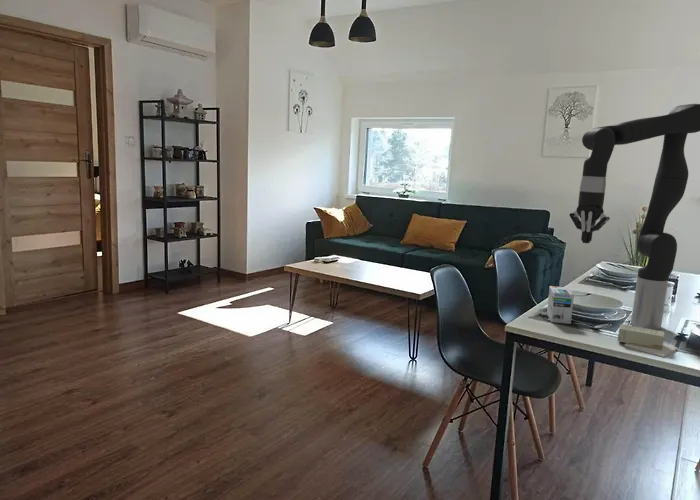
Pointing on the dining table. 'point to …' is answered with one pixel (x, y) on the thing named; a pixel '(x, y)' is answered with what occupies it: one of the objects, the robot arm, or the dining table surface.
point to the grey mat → (654, 349)
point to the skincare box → (641, 336)
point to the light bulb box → (560, 304)
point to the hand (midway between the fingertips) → (585, 242)
